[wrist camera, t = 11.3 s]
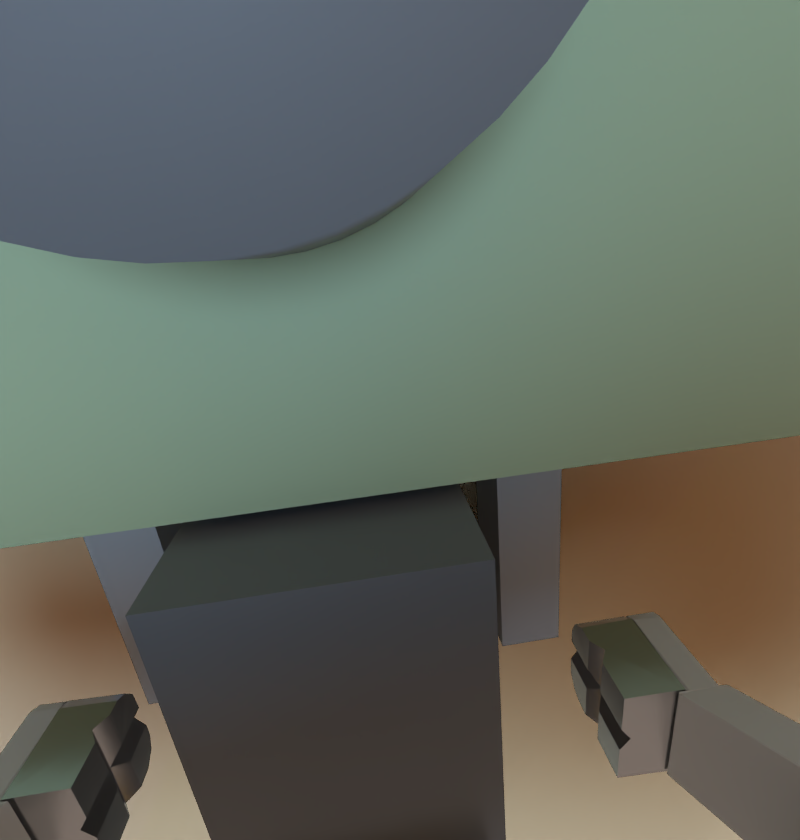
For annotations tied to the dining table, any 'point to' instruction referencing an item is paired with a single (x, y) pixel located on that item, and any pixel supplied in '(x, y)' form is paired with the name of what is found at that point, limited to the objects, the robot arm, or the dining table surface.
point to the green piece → (385, 260)
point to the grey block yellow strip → (332, 669)
